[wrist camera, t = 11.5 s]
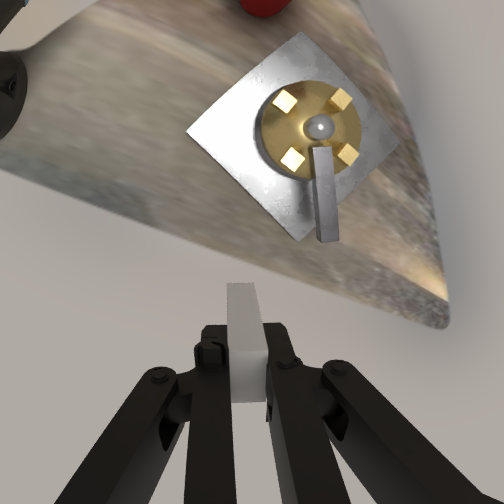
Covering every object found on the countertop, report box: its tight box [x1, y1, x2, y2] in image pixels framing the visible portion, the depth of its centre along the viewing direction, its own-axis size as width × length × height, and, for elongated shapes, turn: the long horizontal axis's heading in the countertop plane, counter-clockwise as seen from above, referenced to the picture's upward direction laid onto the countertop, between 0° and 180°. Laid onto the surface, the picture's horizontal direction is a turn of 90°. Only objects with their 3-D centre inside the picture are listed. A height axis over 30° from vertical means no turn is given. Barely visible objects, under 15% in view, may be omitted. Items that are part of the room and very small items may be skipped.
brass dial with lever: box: [260, 80, 362, 243], centre depth 32 cm, size 18×11×6 cm, turn 8°
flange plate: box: [186, 31, 400, 242], centre depth 36 cm, size 20×20×4 cm
